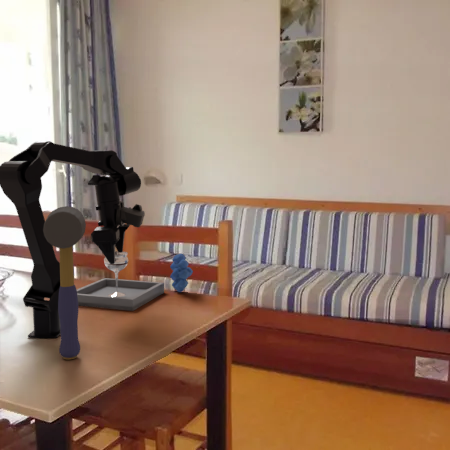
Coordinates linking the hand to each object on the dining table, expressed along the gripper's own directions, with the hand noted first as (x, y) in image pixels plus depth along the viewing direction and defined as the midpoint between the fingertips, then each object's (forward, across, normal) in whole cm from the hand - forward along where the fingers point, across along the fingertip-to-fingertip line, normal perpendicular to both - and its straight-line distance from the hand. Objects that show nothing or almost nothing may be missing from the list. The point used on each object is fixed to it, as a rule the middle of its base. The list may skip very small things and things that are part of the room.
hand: (116, 257), depth 133 cm
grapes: (+17, +16, -14) cm, 27 cm away
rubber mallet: (+9, -36, +2) cm, 37 cm away
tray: (+15, +8, +4) cm, 17 cm away
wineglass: (+14, +8, +4) cm, 17 cm away
